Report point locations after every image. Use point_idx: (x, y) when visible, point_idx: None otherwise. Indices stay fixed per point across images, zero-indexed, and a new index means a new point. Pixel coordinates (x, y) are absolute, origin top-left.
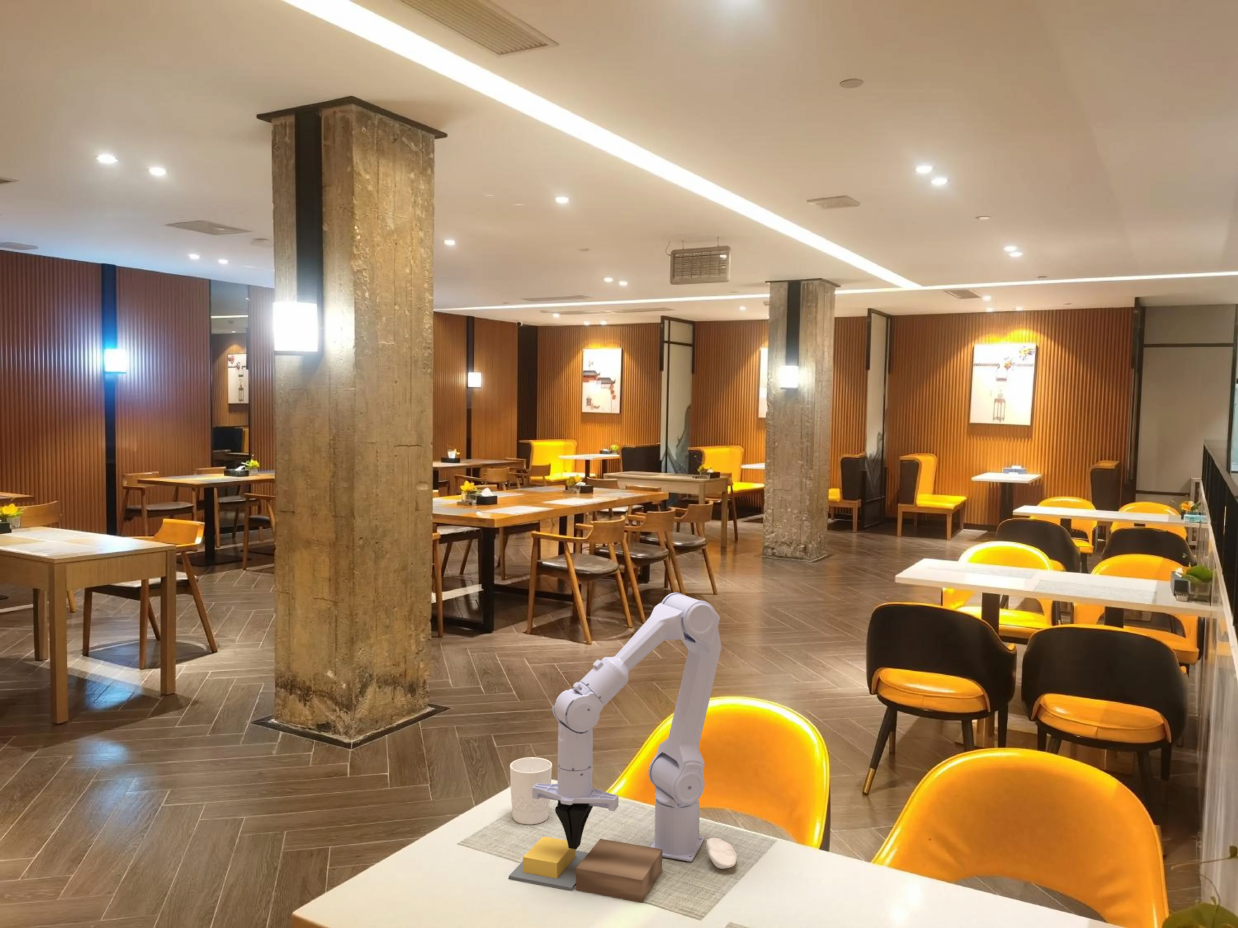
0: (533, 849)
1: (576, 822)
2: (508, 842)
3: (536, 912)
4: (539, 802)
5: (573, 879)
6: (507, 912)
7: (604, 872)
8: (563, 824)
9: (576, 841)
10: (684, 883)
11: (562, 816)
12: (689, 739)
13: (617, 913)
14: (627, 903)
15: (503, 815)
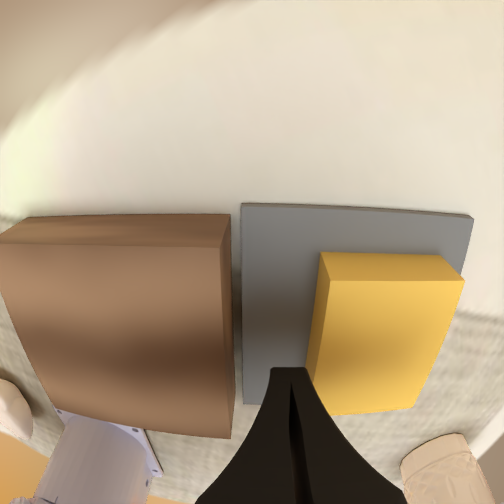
0: (436, 337)
1: (254, 467)
2: (477, 375)
3: (308, 22)
4: (427, 482)
5: (258, 263)
6: (401, 7)
7: (94, 251)
8: (341, 445)
9: (266, 390)
10: None
11: (352, 483)
12: None
13: (52, 130)
14: (51, 196)
15: (477, 435)
